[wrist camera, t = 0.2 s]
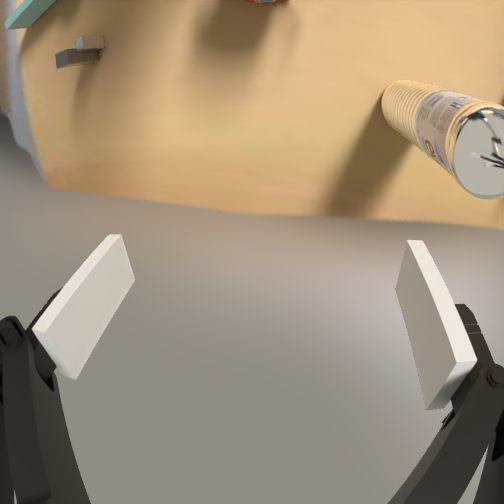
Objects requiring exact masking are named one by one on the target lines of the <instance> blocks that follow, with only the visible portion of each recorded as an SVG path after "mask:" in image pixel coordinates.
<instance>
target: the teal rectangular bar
mask: <svg viewBox="0 0 504 504" xmlns="http://www.w3.org/2000/svg"><path fill="white" fill-rule="evenodd" d="M55 1H56V0H24V1H23V3H22V4H21V5H20V6H19V7H18V8H17V9H16V10H15V11H14V13H13V14H12V15H11V16H10V17H9V19H8V20H7V21H6V22H5V25H6V28H7V30H9V29H20V28H29V27H30V26H31V25H32V24H33V23H34V22H35V21H36V20H37V19H38V18H39V17H40V16H41V15H42V14H43V13H44V12H45V11H46V10H47V9H48V8H49V7H50V6H51V5H52V4H53V3H54V2H55Z"/></svg>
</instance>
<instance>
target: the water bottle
mask: <svg viewBox="0 0 504 504" xmlns="http://www.w3.org/2000/svg"><path fill="white" fill-rule="evenodd" d="M381 109H382V113H383V115H384V118H385V119H386V121H387V122H388V124H389V125H390V126H391V127H392V128H393V129H395V130H396V131H397V132H399V133H400V134H401V135H402V136H404V137H405V138H406V139H407V140H409V141H410V142H411V143H412V144H414V145H415V146H416V147H417V148H419V149H420V150H421V151H422V152H423V153H425V154H426V155H427V156H428V157H429V158H431V159H433V160H435V161H436V162H437V163H438V164H439V165H441V166H442V167H443V168H444V169H445V170H446V171H447V172H449V173H450V174H451V175H452V176H453V178H454V179H455V181H456V182H457V183H458V184H459V185H460V186H461V187H462V188H463V189H464V190H465V191H466V192H468V193H469V194H471V195H473V196H474V197H477V198H479V199H484V200H495V199H499V198H503V197H504V106H502V105H499V104H496V103H494V102H490V101H482V100H479V99H476V98H473V97H470V96H466V95H463V94H460V93H458V92H456V91H454V90H450V89H447V88H443V87H439V86H434V85H430V84H426V83H421V82H417V81H412V80H400V81H396V82H394V83H392V84H391V85H389V86H388V87H387V88H386V90H385V91H384V93H383V96H382V100H381Z"/></svg>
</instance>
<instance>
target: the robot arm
mask: <svg viewBox="0 0 504 504" xmlns="http://www.w3.org/2000/svg"><path fill="white" fill-rule="evenodd" d="M134 281H135V277H134V274H133V271H132V268H131V265H130V262H129V259H128V255H127V252H126V249H125V245H124V242H123V239H122V235H108V236H107V237H106V238H105V239H104V240H103V242H102V243H101V244H100V245H99V246H98V247H97V248H96V249H95V251H94V252H93V253H92V254H91V255H90V256H89V257H88V259H87V260H86V261H85V262H84V263H83V264H82V266H81V267H80V268H79V269H78V270H77V272H76V273H75V274H74V275H73V276H72V278H71V279H70V280H69V281H68V282H67V284H66V285H65V287H62V288H61V289H60V290H58V291H57V292H56V293H54V294H53V295H52V297H51V298H50V299H49V300H48V302H47V304H45V306H44V307H43V308H42V310H41V311H40V312H39V313H38V315H37V316H36V317H35V319H34V320H33V321H32V323H31V324H30V325H29V327H28V328H27V329H26V331H25V330H24V328H23V327H22V325H21V323H20V321H19V320H18V318H17V317H15V316H8V317H5V318H4V319H2V320H1V321H0V504H14V490H15V494H16V498H17V504H91V503H90V501H89V498H88V495H87V492H86V490H85V487H84V484H83V481H82V478H81V475H80V472H79V469H78V466H77V463H76V459H75V456H74V452H73V449H72V445H71V441H70V438H69V434H68V430H67V426H66V422H65V418H64V413H63V409H62V404H61V399H60V394H59V388H58V383H57V378H56V375H55V373H54V370H55V368H56V367H57V368H58V369H59V371H60V372H61V373H62V375H63V376H66V377H70V378H73V379H77V377H78V375H79V374H80V372H81V370H82V368H83V366H84V365H85V363H86V361H87V359H88V357H89V356H90V354H91V352H92V350H93V348H94V347H95V345H96V343H97V341H98V340H99V338H100V336H101V335H102V333H103V331H104V330H105V328H106V326H107V325H108V323H109V321H110V320H111V318H112V316H113V315H114V313H115V311H116V310H117V308H118V306H119V305H120V303H121V301H122V300H123V298H124V297H125V295H126V294H127V292H128V290H129V289H130V287H131V286H132V284H133V283H134ZM395 290H396V293H397V296H398V300H399V303H400V306H401V310H402V313H403V317H404V320H405V324H406V327H407V331H408V335H409V339H410V342H411V346H412V350H413V354H414V358H415V363H416V366H417V371H418V376H419V380H420V385H421V389H422V394H423V399H424V404H425V410H433V409H442V408H445V406H446V405H447V404H448V402H449V401H450V400H451V402H452V406H453V409H452V411H451V412H450V413H449V414H448V415H447V417H446V418H445V419H444V420H443V421H442V423H443V425H442V427H441V429H440V430H439V432H438V434H437V435H436V437H435V438H434V440H433V442H432V443H431V445H430V446H429V448H428V449H427V451H426V453H425V454H424V455H423V457H422V459H421V460H420V461H419V463H418V465H417V466H416V467H415V469H414V470H413V472H412V473H411V474H410V476H409V477H408V478H407V480H406V481H405V482H404V484H403V485H402V486H401V487H400V489H399V490H398V492H397V493H396V494H395V495H394V497H393V498H392V499H391V500H390V501H389V503H388V504H457V503H458V501H459V500H460V498H461V496H462V494H463V493H464V491H465V489H466V488H467V486H468V484H469V482H470V480H471V479H472V477H473V475H474V473H475V471H476V469H477V467H478V465H479V463H480V461H481V459H482V457H483V455H484V453H485V451H486V449H487V447H488V444H489V447H488V451H487V455H486V460H485V464H484V468H483V472H482V475H481V479H480V483H479V486H478V490H477V493H476V496H475V499H474V502H473V504H504V368H503V367H502V366H500V365H498V364H495V363H494V361H493V358H492V356H491V353H490V351H489V348H488V346H487V344H486V341H485V339H484V337H483V334H481V330H480V327H479V325H477V321H476V319H475V317H474V314H473V313H472V312H471V310H470V309H469V308H468V307H467V306H466V305H465V304H454V302H453V300H452V298H451V296H450V294H449V292H448V290H447V287H446V285H445V283H444V281H443V279H442V277H441V275H440V273H439V271H438V269H437V267H436V265H435V263H434V261H433V260H432V258H431V256H430V254H429V252H428V250H427V248H426V246H425V244H424V243H423V241H422V240H407V242H406V247H405V251H404V256H403V260H402V264H401V269H400V273H399V277H398V281H397V285H396V289H395Z"/></svg>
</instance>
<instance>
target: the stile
mask: <svg viewBox="0 0 504 504" xmlns="http://www.w3.org/2000/svg"><path fill="white" fill-rule="evenodd" d="M75 46H76V49H67V50H64V51H62V52H59V53H57V54H55V56H56V65H57V69H58V68H64V67H70V66H76V65H83V64H89V63H92V62H95V61H98V60H99V51H98V50H99V49H102V48H104V37H103V36H81V37H79V38H76V39H75Z"/></svg>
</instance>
